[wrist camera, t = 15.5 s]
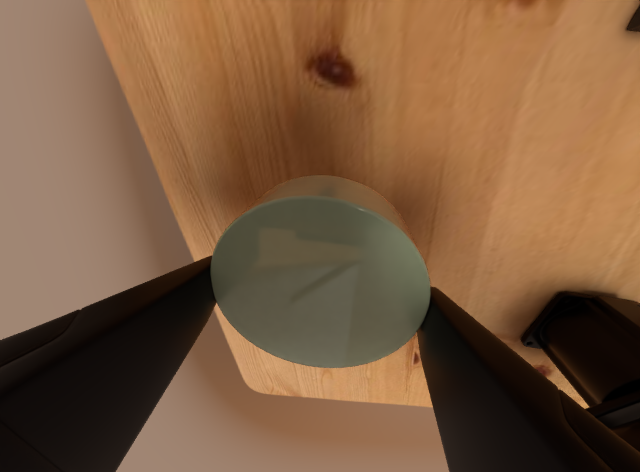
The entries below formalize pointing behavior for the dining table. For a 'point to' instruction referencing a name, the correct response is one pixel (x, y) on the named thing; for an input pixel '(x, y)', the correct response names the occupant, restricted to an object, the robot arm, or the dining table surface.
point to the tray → (635, 22)
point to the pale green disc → (321, 274)
